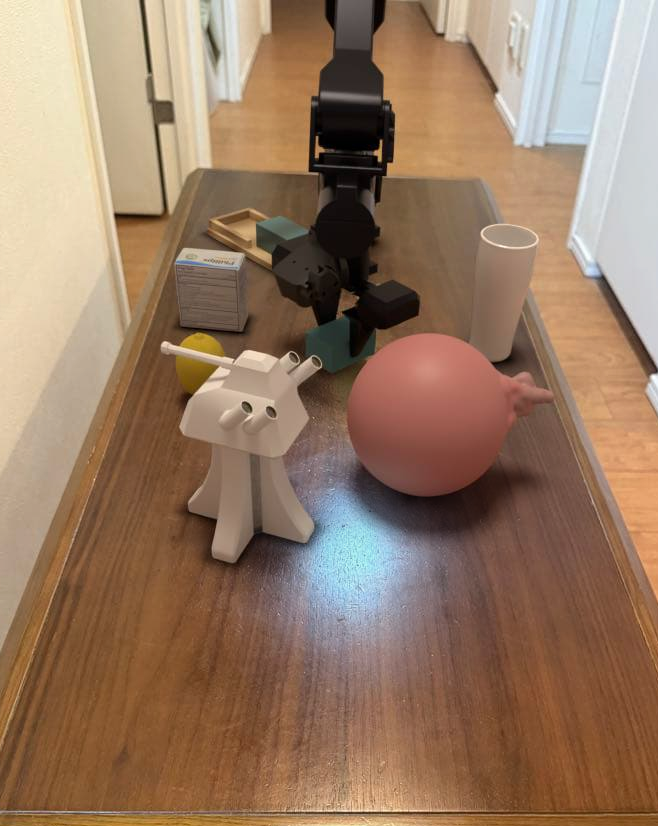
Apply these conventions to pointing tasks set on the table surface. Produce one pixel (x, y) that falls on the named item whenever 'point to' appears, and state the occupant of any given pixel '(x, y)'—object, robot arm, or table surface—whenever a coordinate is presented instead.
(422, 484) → the balloon
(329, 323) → the teal rectangular block
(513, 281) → the drinking glass
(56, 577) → the table surface
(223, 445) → the toy gun turret
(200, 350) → the lemon
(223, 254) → the medicine box
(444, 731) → the table surface
